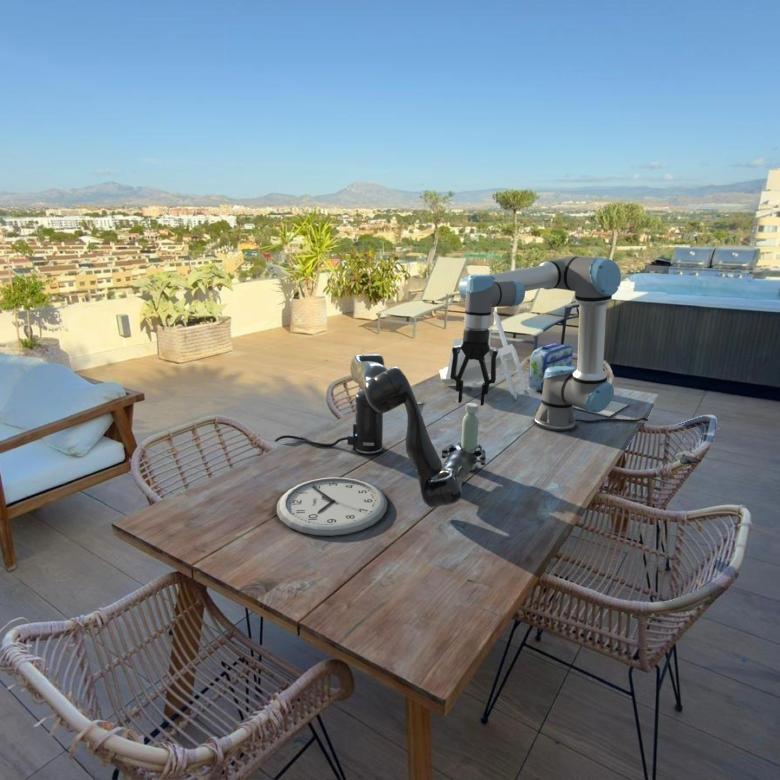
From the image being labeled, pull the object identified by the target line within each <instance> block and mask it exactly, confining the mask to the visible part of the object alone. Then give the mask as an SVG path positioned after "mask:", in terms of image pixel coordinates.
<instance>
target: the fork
mask: <svg viewBox="0 0 780 780" xmlns="http://www.w3.org/2000/svg"><path fill="white" fill-rule="evenodd" d="M424 401H425V396H421V395H420V396H419V397H418V400H417V404H418V405H422V404H423V403H424Z"/></svg>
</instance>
